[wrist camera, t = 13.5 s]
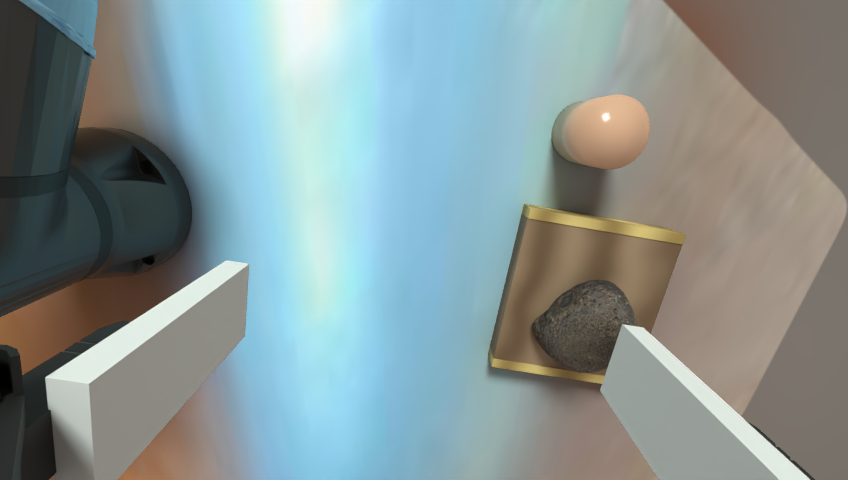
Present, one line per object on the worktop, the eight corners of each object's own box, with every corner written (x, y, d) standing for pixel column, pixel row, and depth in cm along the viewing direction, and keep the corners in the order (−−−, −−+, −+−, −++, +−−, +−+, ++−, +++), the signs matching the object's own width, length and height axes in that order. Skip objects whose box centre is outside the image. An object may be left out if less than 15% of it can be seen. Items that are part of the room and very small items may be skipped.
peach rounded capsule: (545, 157, 40) (568, 163, 34) (560, 95, 39) (588, 88, 32) (602, 167, 41) (637, 175, 34) (619, 106, 39) (659, 101, 32)
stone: (563, 346, 48) (657, 367, 40) (525, 373, 42) (627, 403, 34) (559, 265, 46) (655, 272, 39) (520, 281, 40) (624, 292, 33)
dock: (488, 353, 46) (491, 366, 44) (524, 203, 42) (530, 208, 39) (620, 374, 47) (631, 388, 44) (671, 229, 42) (686, 235, 40)
